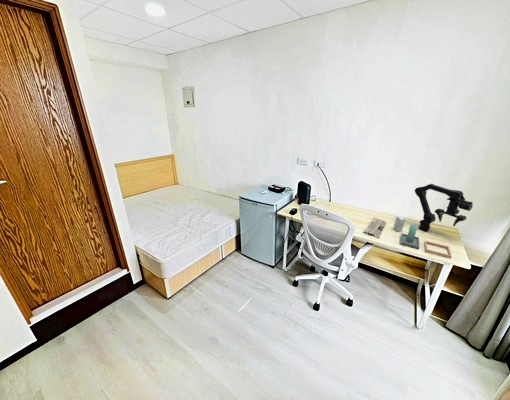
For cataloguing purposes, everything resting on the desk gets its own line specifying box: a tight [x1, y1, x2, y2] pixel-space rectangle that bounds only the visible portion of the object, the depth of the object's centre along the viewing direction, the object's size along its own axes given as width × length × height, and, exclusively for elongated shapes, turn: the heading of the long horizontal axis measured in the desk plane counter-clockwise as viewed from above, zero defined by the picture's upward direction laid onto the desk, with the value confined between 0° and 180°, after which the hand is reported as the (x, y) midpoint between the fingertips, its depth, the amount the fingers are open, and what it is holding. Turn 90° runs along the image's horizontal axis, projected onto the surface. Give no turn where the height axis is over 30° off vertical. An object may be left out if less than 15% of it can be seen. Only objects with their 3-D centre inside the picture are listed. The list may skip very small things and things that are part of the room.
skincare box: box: [393, 216, 406, 233], centre depth 188 cm, size 6×4×12 cm
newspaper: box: [363, 216, 387, 238], centre depth 194 cm, size 35×12×4 cm, turn 141°
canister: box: [406, 223, 419, 243], centre depth 169 cm, size 4×4×14 cm
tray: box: [399, 232, 420, 250], centre depth 171 cm, size 16×12×2 cm
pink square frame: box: [424, 240, 453, 259], centre depth 161 cm, size 15×15×2 cm
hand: (446, 224), depth 175 cm, fingers open, 9 cm apart
